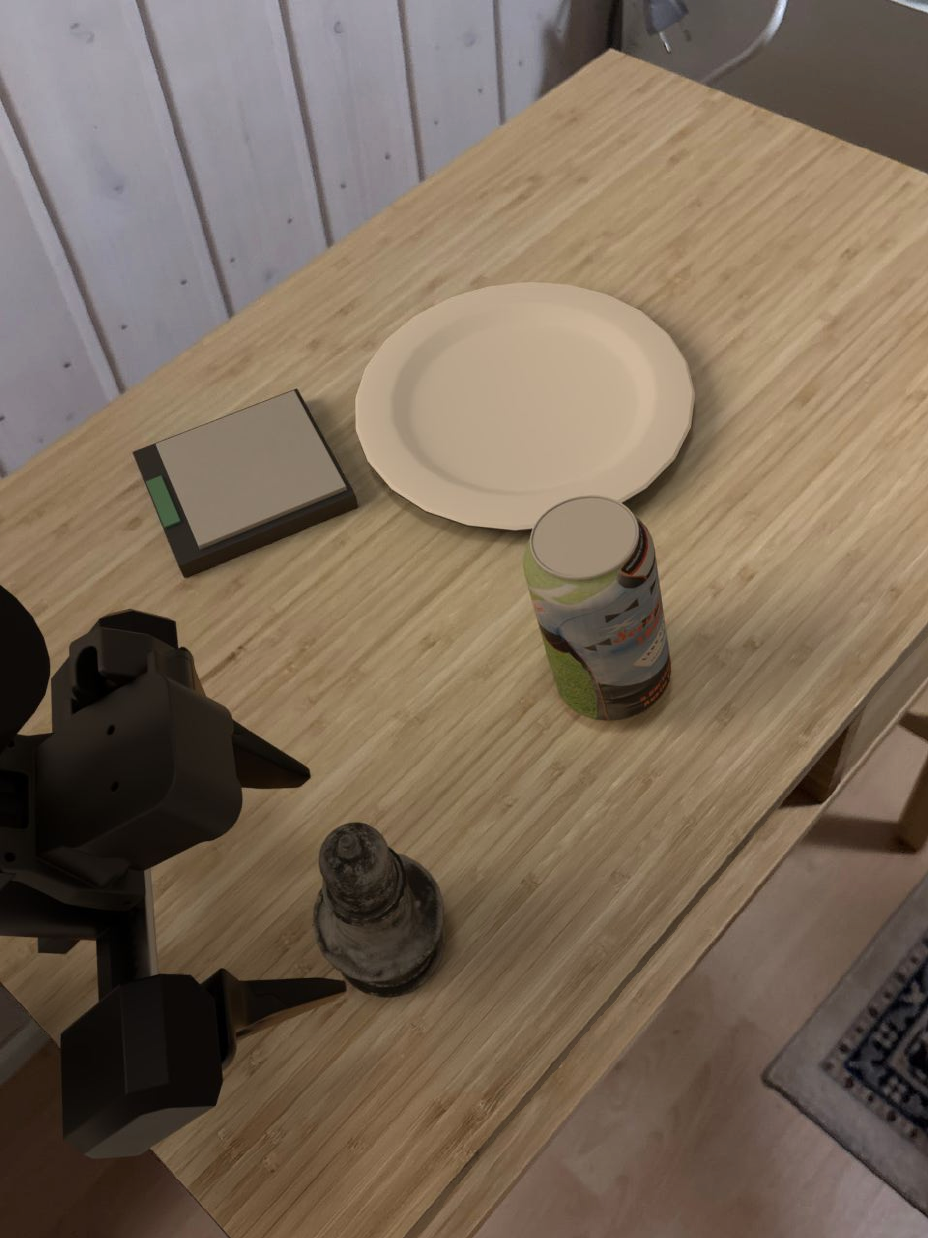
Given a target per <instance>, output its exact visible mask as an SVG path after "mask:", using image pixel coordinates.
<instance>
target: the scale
mask: <svg viewBox="0 0 928 1238" xmlns="http://www.w3.org/2000/svg"><path fill="white" fill-rule="evenodd" d="M132 455H133V458H134V460H135V463H136V465H137V467H138V470H139V472H140V475H141V478H142V480H143V482H144V485H145V488H146V490H147V492H148V494H149V497H150V499H151V502H152V505H153V507H154V510H155V513H156V515H157V517H158V520H159V522H160V525H161V527H162V530H163V532H164V534H165V537H166V539H167V542H168V545H169V547H170V549H171V552H172V554H173V557H174V559H175V562H176V564H177V567H178V568H179V570H180V573H181V574H182V577H183V578H184V579H186V578H188V577H191V576H192V575H195V574H198V573H201V572H203V571H206V570H207V569H210V568H213V567H215V566H217V565H220V564H222V563H224V562H227V561H229V560H232V559H235V558H237V557H240V556H242V555H245V554H246V553H249V552H251V551H254V550H257V549H259V548H262V547H263V546H266V545H269V544H272V543H273V542H276V541H279V540H281V539H283V538H286V537H288V536H290V535H294V534H295V533H296V534H297V533H298V532H300V531H303V530H305V529H307V528H311V527H312V526H315V525H317V524H319V523H323V522H324V521H327V520H330V519H332V518H335V517H337V516H339V515H342V514H343V513H344V514H345V513H346V512H350V511H352V510H354V509H356V508H358V507H359V504H358V501H357V496H356V493H355V491H354V490H353V488H352V486H351V484H350V482H349V480H348V479H347V477H346V475H345V473H344V471H343V469H342V468H341V465H340V463H339V462H338V460H337V459H336V457H335V455H334V453H333V451H332V449H331V447H330V446H329V443H328V442H327V440H326V439H325V436H324V435H323V433H322V431H321V429H320V427H319V425H318V424H317V422H316V420H315V418H314V417H313V415H312V413H311V411H310V409H309V407H308V405H307V403H306V402H305V400H304V398H303V396H302V394H301V393H300V391H299V389H298V387H297V388H294V389H291V390H289V391H286V392H283V393H281V394H278V395H276V396H273V397H270V398H267V399H265V400H262V401H260V402H258V403H255V404H253V405H250V406H247V407H245V408H242V409H240V410H237V411H234V412H232V413H229V414H226V415H224V416H221V417H219V418H216V419H214V420H211V421H209V422H206V423H204V424H201V425H198V426H196V427H193V428H191V429H188V430H185V431H182V432H180V433H178V434H175V435H172V436H170V437H167V438H165V439H162V440H159V441H157V442H154V443H152V444H149V445H146V446H144V447H142V448H139V449H136V450H133V451H132Z"/></svg>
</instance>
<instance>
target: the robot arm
mask: <svg viewBox="0 0 928 1238" xmlns="http://www.w3.org/2000/svg"><path fill="white" fill-rule="evenodd" d="M177 631H178V629H177V621H176V620H174V619H172V618H169V617H166V616H162V615H158V614H154V613H151V612H146V611H141V610H137V609H134V608H126V609H123V610H119V611H115V612H110V613H108V614H105V615H104V616H101V617H99V618H98V620H96V622H95V623H94V624H93V625H92V626H91V628H90V630H89V631H87V632H86V633H85V634H83V635H82V636H80V637H78V638H77V639H75V640H73V641H71V642H70V644H69V646H68V657H67V658H66V659H65V660H64V661H63V663H62V664H61V665H60V667H59V668H58V669H57V670H56V672H54V674H53V676H51V658H50V657H51V656H50V654H49V650H48V646H47V643H46V640H45V635H44V634H43V633H42V631H41V629H40V627H39V626H38V623H37V622H36V620H35V618H34V616H33V615H32V614H31V613H30V612H29V610H28V609H27V608H26V607H25V606H24V605H23V603H22V602H21V601H20V600H19V599H18V597H16V596H15V595H14V594H13V593H11V592H10V591H9V590H8V589H7V588H5V587H4V586H3V585H2V584H0V937H14V938H15V937H16V938H31V939H33V938H34V939H37V954H49V955H50V954H53V955H66V954H68V953H69V952H70V951H71V950H72V949H73V948H75V946H77V944H79V942H81V941H89V942H90V941H91V942H95V952H96V953H95V954H96V955H95V956H96V973H97V974H96V975H97V977H96V978H97V994H98V995H97V996H98V997H97V998H98V1001H97V1002H96V1003H95V1004H94V1005H93V1006H91V1008H89V1009H88V1010H87V1011H86V1012H84V1013H83V1014H82V1015H81V1016H80V1017H78V1018H76V1020H74V1022H72V1023H71V1024H70V1025H69V1026H68V1027H67V1028H65V1029H64V1030H63V1031H62V1032H60V1033H59V1042H60V1043H59V1045H60V1048H59V1049H60V1079H61V1081H60V1082H61V1083H60V1084H61V1085H60V1086H61V1119H62V1121H61V1122H62V1140H63V1141H65V1142H66V1143H67V1144H69V1145H70V1146H71V1147H73V1148H74V1149H75V1150H77V1151H78V1152H80V1153H81V1154H82V1155H84V1156H85V1157H88V1158H90V1159H93V1160H95V1159H107V1158H123V1157H135V1156H140V1155H142V1154H144V1153H145V1152H147V1151H148V1150H149V1149H151V1148H153V1147H154V1146H156V1145H158V1144H160V1143H161V1142H163V1141H164V1140H165V1139H167V1138H169V1137H170V1136H172V1135H173V1134H175V1133H177V1132H178V1131H179V1130H181V1129H183V1128H184V1127H185V1126H188V1125H189V1124H191V1123H192V1122H193V1121H195V1120H196V1119H198V1118H200V1117H201V1116H203V1115H205V1114H206V1113H207V1112H209V1111H211V1110H212V1109H214V1108H215V1107H216V1106H217V1104H218V1100H219V1097H220V1094H221V1090H222V1088H223V1084H224V1075H223V1072H224V1071H226V1069H228V1068H229V1067H230V1066H231V1064H232V1063H233V1061H234V1059H235V1057H236V1054H237V1050H238V1049H237V1047H238V1041H240V1040H243V1039H246V1038H248V1037H250V1036H252V1035H255V1034H257V1033H259V1032H262V1031H265V1030H267V1029H269V1028H271V1027H274V1026H276V1025H279V1024H281V1023H283V1022H286V1021H288V1020H290V1019H293V1018H295V1017H298V1016H300V1015H303V1014H305V1013H307V1012H309V1011H312V1010H314V1009H316V1008H319V1007H321V1006H324V1005H326V1004H329V1003H331V1002H334V1001H336V1000H337V999H338V998H340V997H341V996H343V995H344V994H346V993H347V992H348V986H347V982H346V981H345V980H342V979H335V978H328V977H321V976H313V977H312V976H309V977H289V978H268V979H267V978H266V979H247V980H246V979H245V980H243V979H238V978H237V977H236V976H234V975H233V974H232V972H230V971H229V970H228V969H226V968H223V967H220V968H219V969H218V970H216V971H215V972H214V973H212V974H211V975H209V977H207V978H206V979H205V980H203V981H202V982H201V983H199V981H198V980H197V979H196V978H195V977H194V976H193V975H192V974H189V973H187V974H186V973H160V972H159V961H158V959H159V958H158V948H157V933H156V920H155V907H154V895H153V881H152V868H154V867H156V866H158V865H159V864H161V863H164V862H166V861H168V860H170V859H172V858H173V857H175V856H178V855H180V854H181V853H183V852H185V851H187V850H190V849H192V848H193V847H195V846H197V845H199V844H202V843H206V842H213V841H215V840H217V839H219V838H221V837H222V836H224V835H226V834H227V833H228V832H229V831H231V829H233V827H234V826H235V824H236V823H237V821H238V819H239V818H240V815H241V813H242V809H243V801H244V799H243V789H253V790H282V789H283V790H285V789H299V788H301V787H302V786H304V785H305V784H306V783H307V782H308V781H309V780H310V779H311V777H312V774H311V769H310V768H309V767H308V766H306V765H305V764H304V763H302V762H301V761H300V760H299V761H298V760H297V759H296V758H294V757H293V756H291V755H289V754H288V753H286V752H284V751H283V750H281V749H280V748H278V747H277V746H276V745H274V744H272V743H271V742H269V741H268V740H266V739H264V738H263V737H261V736H260V735H258V734H257V733H254V732H253V731H251V730H249V728H247V727H245V726H244V725H242V724H241V723H239V722H237V721H236V720H235V719H233V715H232V713H231V711H230V710H229V708H228V707H226V705H224V704H222V703H220V702H219V701H218V702H217V701H216V700H214V699H212V698H210V697H208V696H207V695H206V692H205V690H204V688H203V685H202V682H201V680H200V677H199V675H198V672H197V669H196V665H195V657H194V656H193V654H192V651H190V650H189V649H188V648H187V647H185V646H180V647H179V638H178V632H177ZM49 682H50V698H51V699H50V701H51V732H47V733H38V734H31V735H29V734H28V735H27V734H21V733H20V731H21V730H22V729H23V728H24V726H25V725H26V724H27V722H28V721H29V720H30V719H31V718H32V717H33V715H34V714H35V713H36V711H37V710H38V708H39V706H40V705H41V703H42V701H43V700H44V698H45V697H46V694H47V690H48V685H49ZM19 733H20V734H19Z"/></svg>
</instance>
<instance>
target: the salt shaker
mask: <svg viewBox="0 0 928 1238" xmlns="http://www.w3.org/2000/svg"><path fill="white" fill-rule="evenodd" d="M324 838H325V839H324V840H323V841H322V843H321V846H320V849H319V851H318V863H317V864H318V870H319V873H320V875H321V877H322V881H321V883H322V884H321V888H320V889H319V891H318V894H317V897H316V900H315V903H314V905H313V912H312V924H311V925H312V926H311V927H312V929H313V935H314V940H315V943H316V945H317V947H318V949H319V950H320V952H321V955H322V957H323V958H324V959H325V960H326V961H327V962H328V963H329V964H330V965H331V966H332V967H333V969H335V970H336V971H338V972H340V974H341V975H342V977H343V978H344V979H345V980H346V981H347V982H348V983H349V984H350V985H351V986H352V987H353V988H355V989H357V990H358V991H359V992H362V993H363V994H366V995H370V996H373V997H377V998H395V997H399V996H402V995H405V994H410V993H411V992H413V991H414V990H416V989H418V988H420V987H421V986H423V985H424V984H425V983H426V982H427V981H428V980H429V979H430V978H431V977H432V976H433V974H434V973H435V971H436V970H437V968H438V967H439V965H440V963H441V961H442V958H443V955H444V950H445V947H446V929H445V926H444V923H445V903H444V899H443V895H442V892H441V889H440V886H439V884H438V883H437V881H436V879H435V878H434V876H433V874H432V873H431V872H430V871H429V870H428V869H426V867H425V866H424V865H423V864H421V863H420V862H419V861H418V860H415V859H413V858H412V857H410V856H408V855H406V854H401V853H397V852H396V851H395V850H394V849H393V848H392V847H389V845H388V843H387V841H386V839H385V837H384V836H383V834H382V833H381V832H379V831H378V830H377V828H375V827H374V826H372V825H370V824H368V823H364V822H360V821H357V822H348V823H344V824H341V825H339V826H337V827H336V828H334V829H333V830H332V831H330V832H329V834H327V835H326V837H324Z"/></svg>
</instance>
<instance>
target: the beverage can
mask: <svg viewBox="0 0 928 1238" xmlns="http://www.w3.org/2000/svg"><path fill="white" fill-rule="evenodd" d="M657 561H658V560H657V554H656V547H655V543H654V540H653V536H652V535H651V533H650V531H649V529H648V528H647V526H646V525H645V524H644V523H643V522H642V521H641V520H640V518H638V517H637V516H635V514H634V512H632V510H631V509H630V508H629V507H628V506H626V505H625V503H623V504H622V503H620V502H618V501H617V500H614V499H611V498H608V497H604V496H596V495H587V496H579V497H574V498H570V499H567V500H564V501H562V502H560V503H558V504H556V505H554V506H553V507H551V508H550V509H548V510H547V511H546V512H545V513H544V514H543V515H542V516H541V517H540V518H539V519H538V520H537V522H536V523H535V525H534V527H533V529H532V530H531V532H530V536H529V539H528V542H527V543H526V546H525V549H524V552H523V559H522V565H523V566H522V567H523V575H524V578H525V582H526V585H527V589H528V593H529V596H530V599H531V602H532V606H533V610H534V613H535V616H536V621H537V625H538V627H539V631H540V635H541V639H542V642H543V645H544V649H545V653H546V657H547V660H548V663H549V667H550V671H551V674H552V678H553V681H554V685H555V688H556V691H557V693H558V695H559V697H560V698H561V699H562V701H563V703H565V704H566V705H567V707H568V708H569V709H571V710H573V711H574V712H575V713H577V714H579V715H580V716H581V715H582V716H584V717H585V718H587V719H588V718H589V719H593V720H596V721H605V722H607V721H620V720H625V719H629V718H632V717H635V716H638V715H639V714H640V715H641V714H642V713H643V712H645V711H647V710H648V709H650V708H651V707H652V706H654V705H655V704H656V703H657V702H658V701H659V700H660V699H661V698H662V696H663V695H664V693H665V691H666V690H667V687H668V686H669V683H670V680H671V676H672V661H671V656H670V655H671V654H670V648H669V639H668V635H667V634H668V632H667V626H666V619H665V611H664V606H663V605H664V604H663V596H662V590H661V583H660V576H659V568H658V562H657Z"/></svg>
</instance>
